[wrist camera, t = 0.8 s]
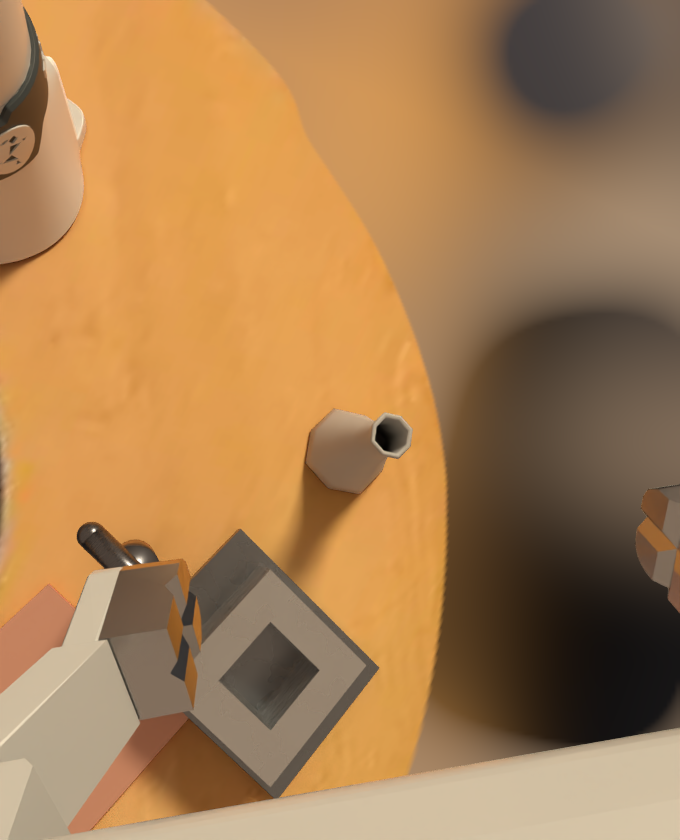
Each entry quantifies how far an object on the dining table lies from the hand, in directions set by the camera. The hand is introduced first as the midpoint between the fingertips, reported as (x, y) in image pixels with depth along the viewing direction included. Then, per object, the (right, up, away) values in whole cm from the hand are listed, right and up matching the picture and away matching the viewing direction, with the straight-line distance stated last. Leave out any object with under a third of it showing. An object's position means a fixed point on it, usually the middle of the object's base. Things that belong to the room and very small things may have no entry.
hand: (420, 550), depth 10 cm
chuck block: (-8, -16, +35) cm, 40 cm away
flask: (-1, 0, +41) cm, 41 cm away
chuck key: (-17, -8, +34) cm, 39 cm away
